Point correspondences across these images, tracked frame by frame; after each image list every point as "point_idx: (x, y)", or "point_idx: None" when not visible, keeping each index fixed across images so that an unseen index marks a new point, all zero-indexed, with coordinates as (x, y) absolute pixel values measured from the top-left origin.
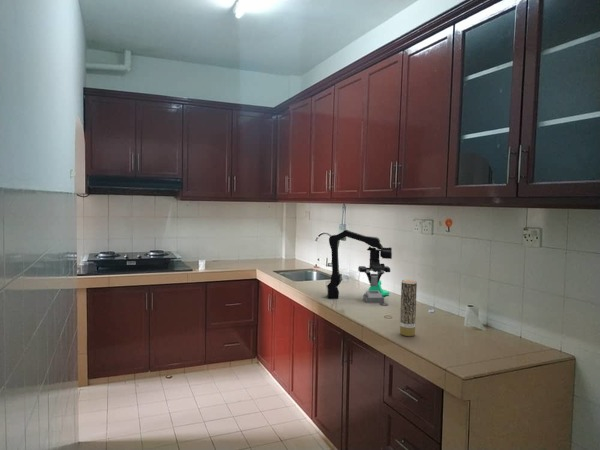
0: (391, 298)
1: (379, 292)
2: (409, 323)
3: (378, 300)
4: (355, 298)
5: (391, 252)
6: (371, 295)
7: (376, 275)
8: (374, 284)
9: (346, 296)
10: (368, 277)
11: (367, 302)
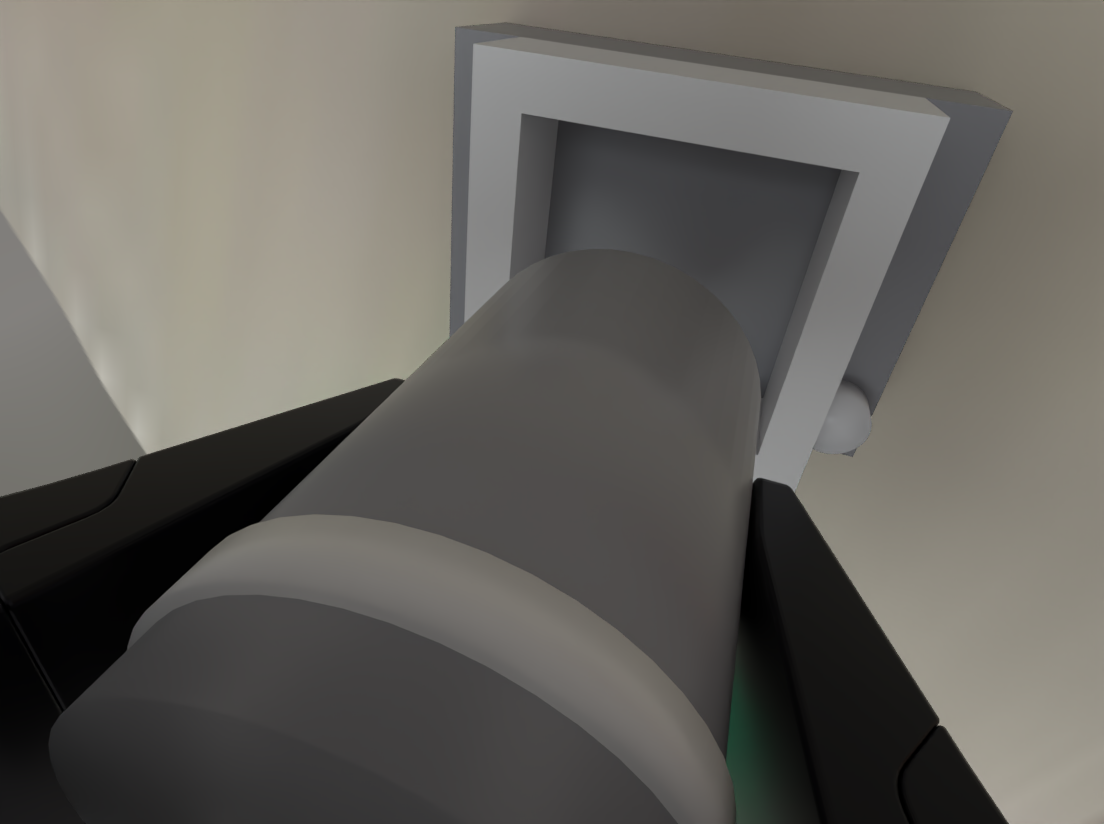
0: (287, 316)
1: (495, 218)
2: None
3: (629, 43)
4: (964, 503)
5: None
6: (837, 93)
7: (192, 651)
8: (625, 286)
9: (1045, 662)
10: (969, 802)
11: (938, 87)
